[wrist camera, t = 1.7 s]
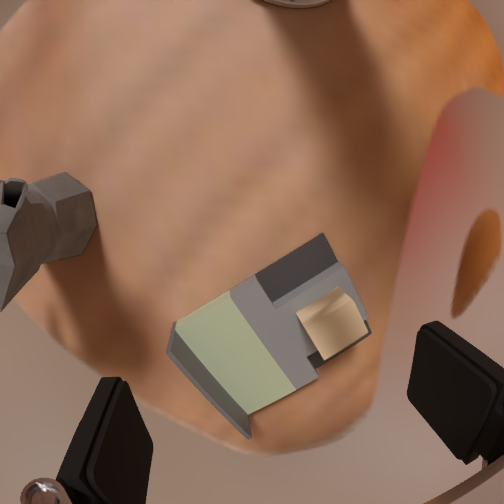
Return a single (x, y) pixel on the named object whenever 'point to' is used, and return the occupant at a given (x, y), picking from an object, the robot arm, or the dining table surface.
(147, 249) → the dining table surface
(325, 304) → the maple block
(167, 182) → the dining table surface
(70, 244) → the coffeepot
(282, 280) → the multicoloured piece
